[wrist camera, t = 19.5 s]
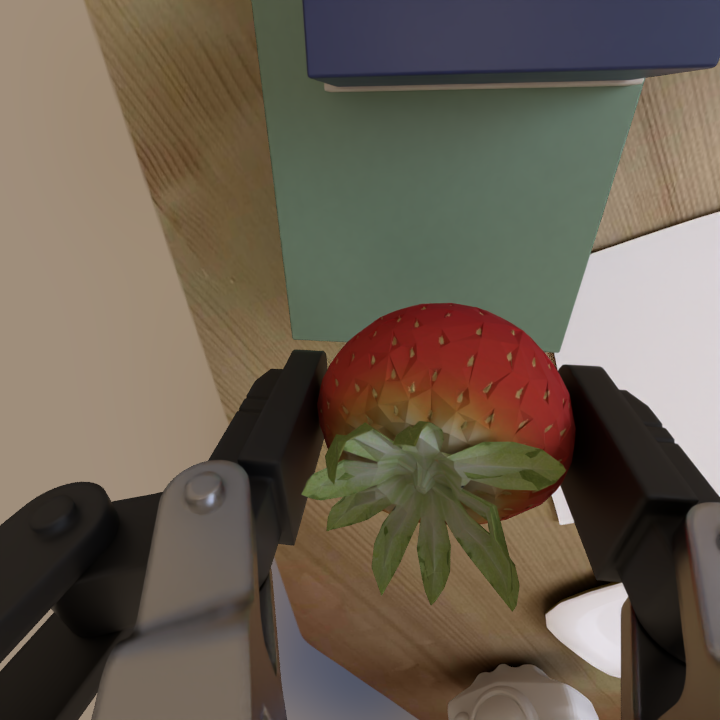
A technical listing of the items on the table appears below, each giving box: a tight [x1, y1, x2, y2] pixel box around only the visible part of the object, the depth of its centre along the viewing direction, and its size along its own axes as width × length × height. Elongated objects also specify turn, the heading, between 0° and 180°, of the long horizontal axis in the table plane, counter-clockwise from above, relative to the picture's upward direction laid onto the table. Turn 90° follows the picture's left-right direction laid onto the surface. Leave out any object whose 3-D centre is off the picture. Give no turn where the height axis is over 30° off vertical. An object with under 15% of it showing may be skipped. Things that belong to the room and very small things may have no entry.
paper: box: [552, 212, 720, 525], centre depth 26 cm, size 25×17×1 cm
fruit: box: [302, 303, 576, 612], centre depth 9 cm, size 5×5×8 cm
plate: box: [545, 582, 628, 678], centre depth 40 cm, size 22×22×2 cm
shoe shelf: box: [251, 0, 645, 353], centre depth 17 cm, size 13×18×7 cm
